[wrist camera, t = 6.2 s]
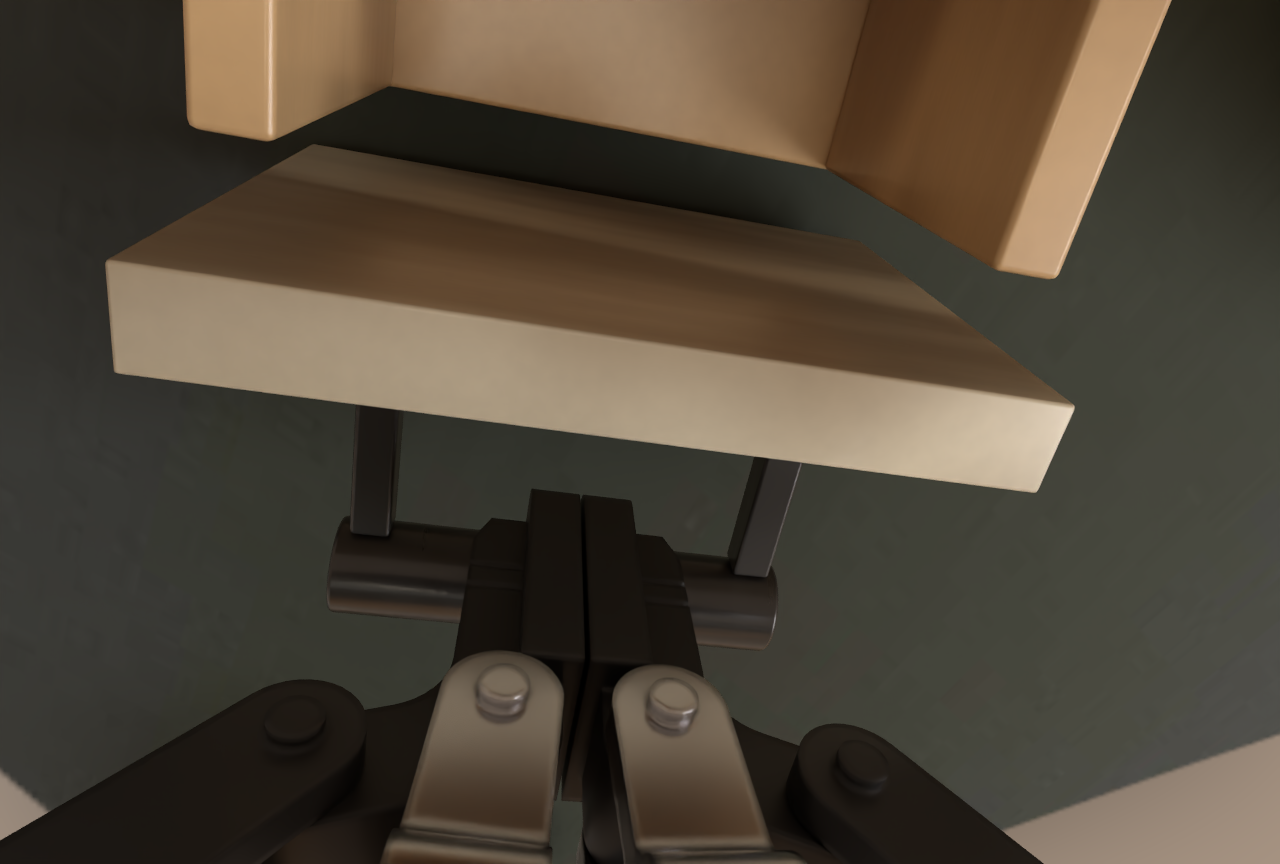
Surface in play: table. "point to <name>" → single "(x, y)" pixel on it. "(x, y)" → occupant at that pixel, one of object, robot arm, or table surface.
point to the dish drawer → (635, 248)
